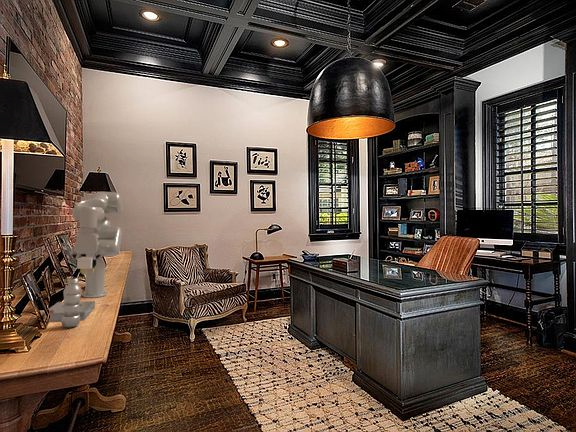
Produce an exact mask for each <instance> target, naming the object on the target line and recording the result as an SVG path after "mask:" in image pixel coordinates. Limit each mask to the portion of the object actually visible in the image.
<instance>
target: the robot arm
mask: <svg viewBox="0 0 576 432" xmlns="http://www.w3.org/2000/svg"><path fill="white" fill-rule="evenodd" d="M123 210H124V203H123V201H122V196H121V195H120V194H119V193H118V192H116V191H114V192H113V191H97V192H95V193H94V194H93V196H92V197H91V198H89V199H85V200H82V201H78V202H77V204H76V205H75V206H74V208H73V210H72V217H73V219H74V220H76V221H79V231H78V233H77V235H76V239H75V244H74V247H72V249H70V250H69V251H68V253H69V254H70V256H72V257H73V258H74V259H75V267H77V259H78V258H80V257H82V255H85V257H93V261H92V268H94V273H90V269H86V275H85V282H84V283H85V284H84V285H85V286H84V287H85V288H84V292H82V293H81V297H83V298H87V299H88V298H90V299H91V298H100V297H101V298H102V297H105V296H107V295H108V292H107V291H105V281H106V276H105V275H106V262H105V261H104V259H103V258H102V257H117V256H119V253H120V251H121V244H122V238H123V230H122V228H121V227H119V226H117V225H115V226H114V225H111V220H110V219H109V218H108V217H107V216H106V215H120V214H122V213H123Z"/></svg>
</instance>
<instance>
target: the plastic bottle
mask: <svg viewBox="0 0 576 432" xmlns="http://www.w3.org/2000/svg"><path fill="white" fill-rule="evenodd" d="M78 283H79V278H78V277H69V278H67V286H66V287H65V288H64V289H63V302H64V312H63V317H62V321H60V322H61V327H63V328H74V327H77V326H79V324H80V322H81V320H80V315H79V303H80V302H81V297H82V293H83V289H82V287H81V286H80V284H78Z"/></svg>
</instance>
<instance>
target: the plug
mask: <svg viewBox="0 0 576 432" xmlns="http://www.w3.org/2000/svg"><path fill="white" fill-rule="evenodd" d="M92 261H93V257H86V256H80V258H78V259H77V266H76V269H78V270H79V269H80V270H79V273H80V274H82V275H83V276H86V269H90V273H94V268H92Z"/></svg>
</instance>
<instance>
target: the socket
mask: <svg viewBox="0 0 576 432" xmlns="http://www.w3.org/2000/svg"><path fill="white" fill-rule="evenodd" d="M95 306H96V301H95V300H94V301H92V300H91V301H85V300H84V301H80V303H79V315H80V321H85V320H86V319H87V318H88V317H89V316H90V314H91V313H92V312H93V311H94V310H95V309H96V307H95ZM48 309H49V315H50V321H49V322H61V321H62V317H63V312H64V301H58V302H56V303H55V304H54V305H52V306H50V307H49V308H48Z"/></svg>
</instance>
